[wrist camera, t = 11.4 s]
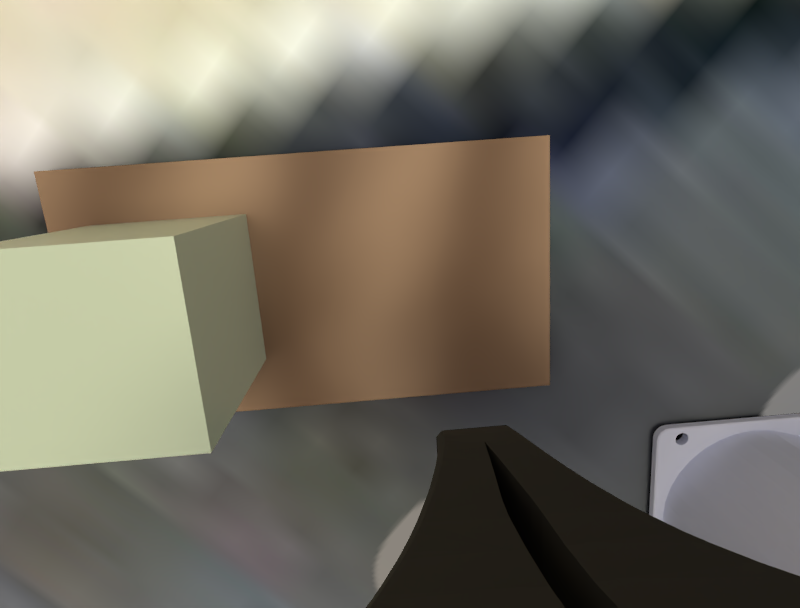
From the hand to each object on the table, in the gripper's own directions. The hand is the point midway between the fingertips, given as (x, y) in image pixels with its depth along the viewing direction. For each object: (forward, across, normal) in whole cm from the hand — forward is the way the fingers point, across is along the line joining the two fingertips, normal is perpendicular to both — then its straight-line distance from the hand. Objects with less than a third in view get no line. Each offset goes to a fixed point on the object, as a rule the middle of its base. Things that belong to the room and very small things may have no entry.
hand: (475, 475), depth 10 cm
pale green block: (+9, +8, -2) cm, 13 cm away
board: (+10, +4, -2) cm, 11 cm away
